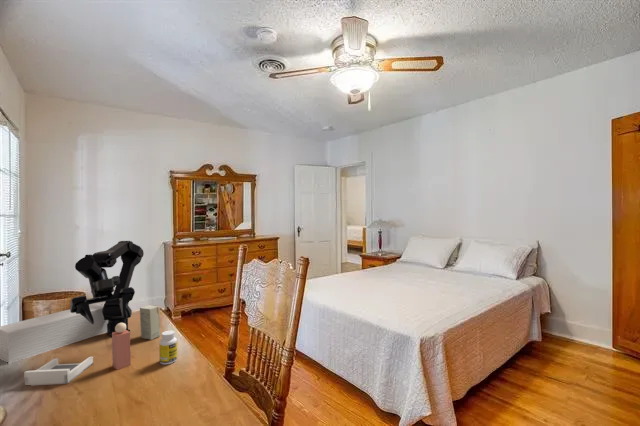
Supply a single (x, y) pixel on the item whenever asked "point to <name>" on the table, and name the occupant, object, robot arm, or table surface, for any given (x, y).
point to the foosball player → (121, 346)
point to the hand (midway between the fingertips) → (109, 319)
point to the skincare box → (150, 322)
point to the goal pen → (56, 372)
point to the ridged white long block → (48, 333)
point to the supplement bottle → (168, 347)
